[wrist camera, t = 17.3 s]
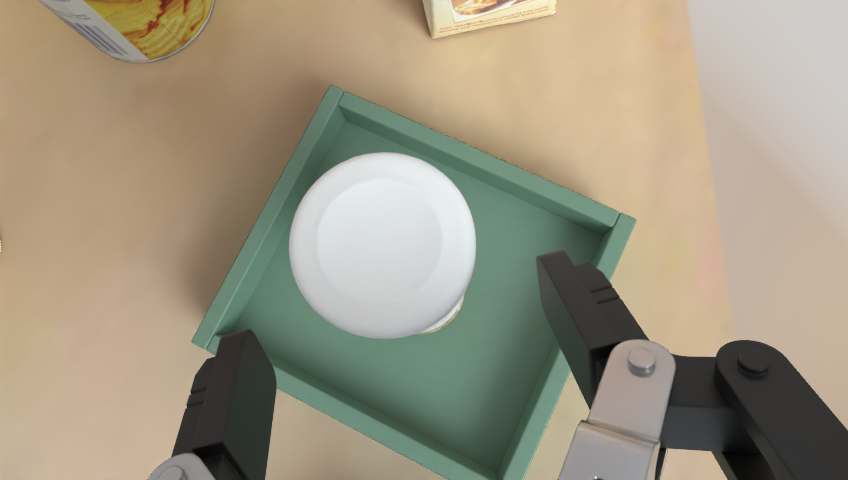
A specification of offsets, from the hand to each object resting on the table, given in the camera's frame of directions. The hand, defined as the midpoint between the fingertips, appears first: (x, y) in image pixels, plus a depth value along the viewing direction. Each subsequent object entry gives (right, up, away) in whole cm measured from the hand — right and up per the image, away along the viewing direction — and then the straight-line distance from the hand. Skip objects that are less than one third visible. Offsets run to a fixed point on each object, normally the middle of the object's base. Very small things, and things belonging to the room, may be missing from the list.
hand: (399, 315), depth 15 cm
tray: (0, 0, +12) cm, 12 cm away
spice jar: (0, 0, +11) cm, 11 cm away
